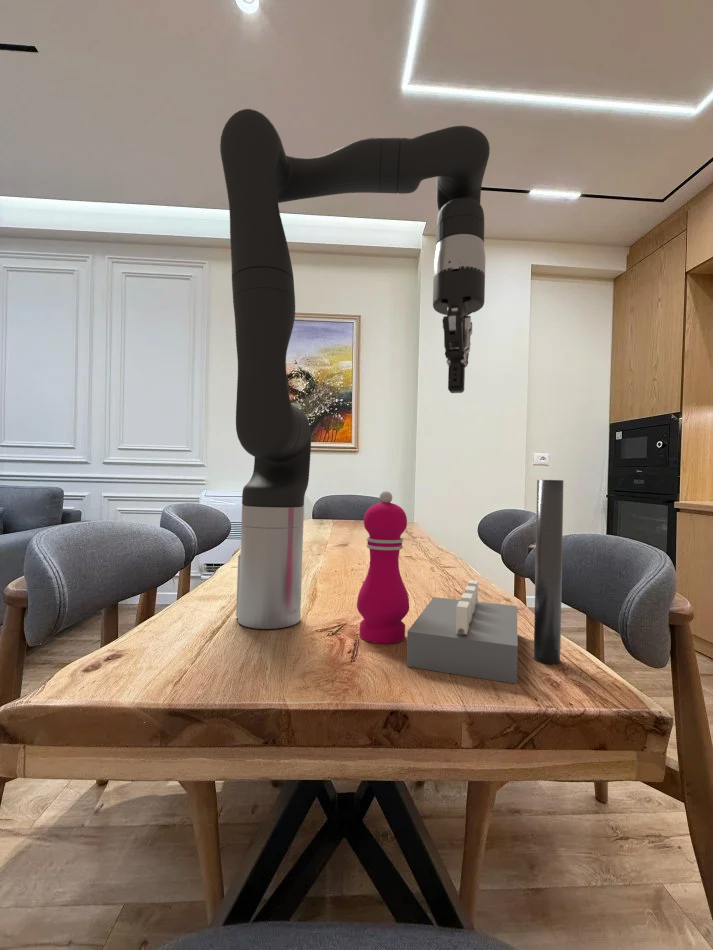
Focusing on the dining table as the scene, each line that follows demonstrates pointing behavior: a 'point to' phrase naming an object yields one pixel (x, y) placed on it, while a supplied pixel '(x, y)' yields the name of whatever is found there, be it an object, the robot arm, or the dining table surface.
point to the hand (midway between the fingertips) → (456, 391)
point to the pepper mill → (383, 575)
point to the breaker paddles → (466, 607)
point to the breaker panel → (465, 641)
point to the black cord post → (548, 571)
